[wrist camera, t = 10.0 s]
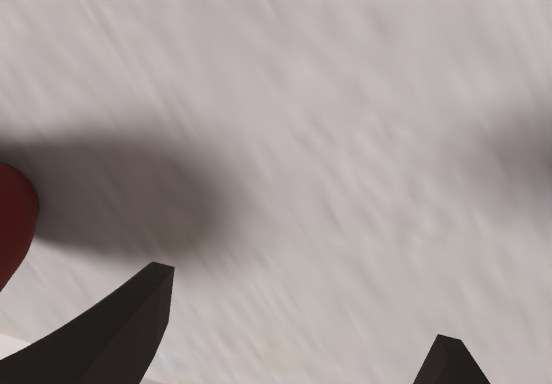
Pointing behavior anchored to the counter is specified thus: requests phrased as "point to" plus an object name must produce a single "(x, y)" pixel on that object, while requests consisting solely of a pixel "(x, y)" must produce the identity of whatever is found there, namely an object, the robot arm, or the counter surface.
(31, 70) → the counter surface
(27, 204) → the mug
